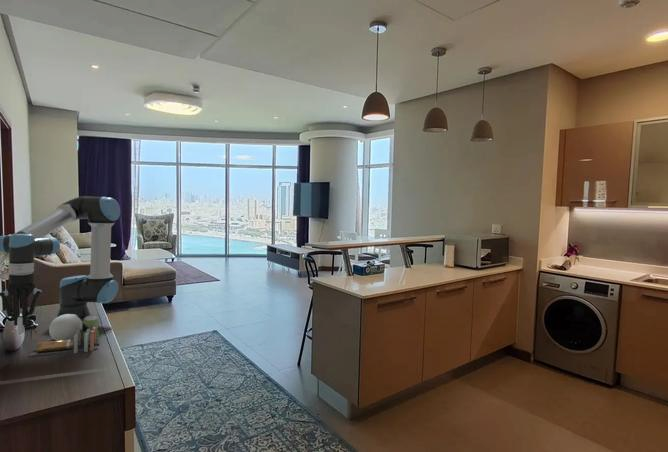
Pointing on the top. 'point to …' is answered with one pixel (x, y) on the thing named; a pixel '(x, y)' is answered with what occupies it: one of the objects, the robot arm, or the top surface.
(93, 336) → the aperture bridge
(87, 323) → the beverage can
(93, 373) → the top surface
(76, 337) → the collar
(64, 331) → the decorative ball
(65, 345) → the copper tube
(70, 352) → the grey open frame rack
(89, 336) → the collar
